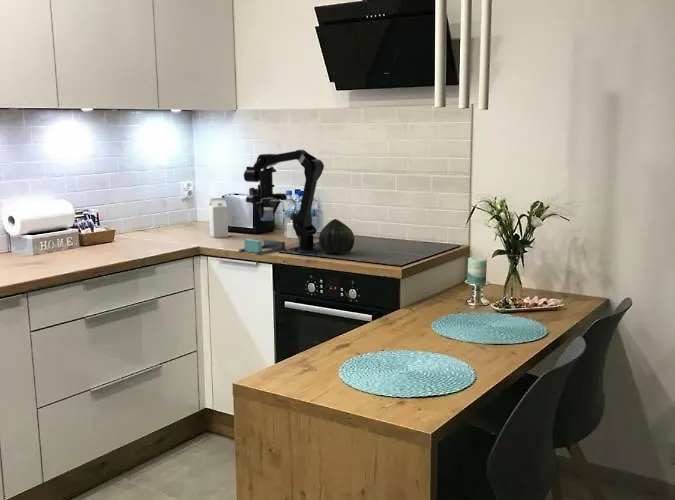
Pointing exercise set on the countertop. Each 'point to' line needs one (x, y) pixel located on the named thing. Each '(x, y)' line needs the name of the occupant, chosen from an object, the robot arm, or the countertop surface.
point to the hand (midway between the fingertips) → (267, 217)
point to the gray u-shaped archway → (270, 246)
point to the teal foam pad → (253, 245)
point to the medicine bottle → (291, 229)
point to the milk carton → (218, 218)
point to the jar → (267, 214)
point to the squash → (336, 238)
